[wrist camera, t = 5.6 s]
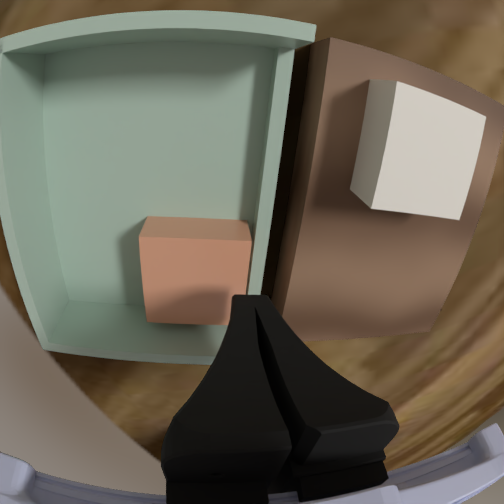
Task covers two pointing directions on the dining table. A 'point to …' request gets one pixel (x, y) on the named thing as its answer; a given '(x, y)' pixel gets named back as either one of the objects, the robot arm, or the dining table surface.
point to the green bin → (135, 162)
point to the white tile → (415, 151)
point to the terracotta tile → (193, 268)
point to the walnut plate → (368, 209)
